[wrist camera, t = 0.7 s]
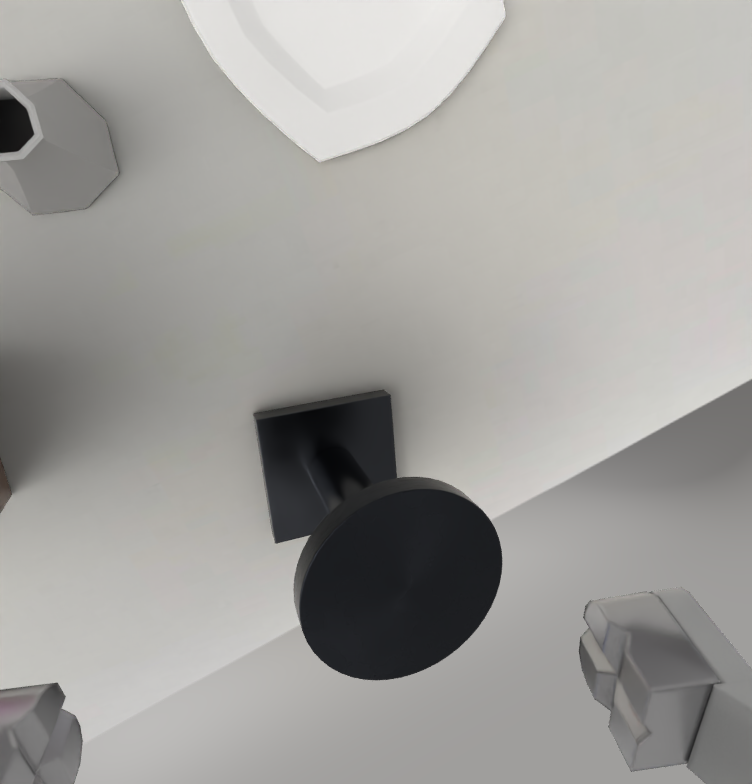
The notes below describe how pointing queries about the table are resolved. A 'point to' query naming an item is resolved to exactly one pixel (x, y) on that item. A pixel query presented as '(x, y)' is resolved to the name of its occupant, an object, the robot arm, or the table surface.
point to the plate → (345, 61)
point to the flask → (52, 147)
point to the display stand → (373, 540)
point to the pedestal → (3, 488)
